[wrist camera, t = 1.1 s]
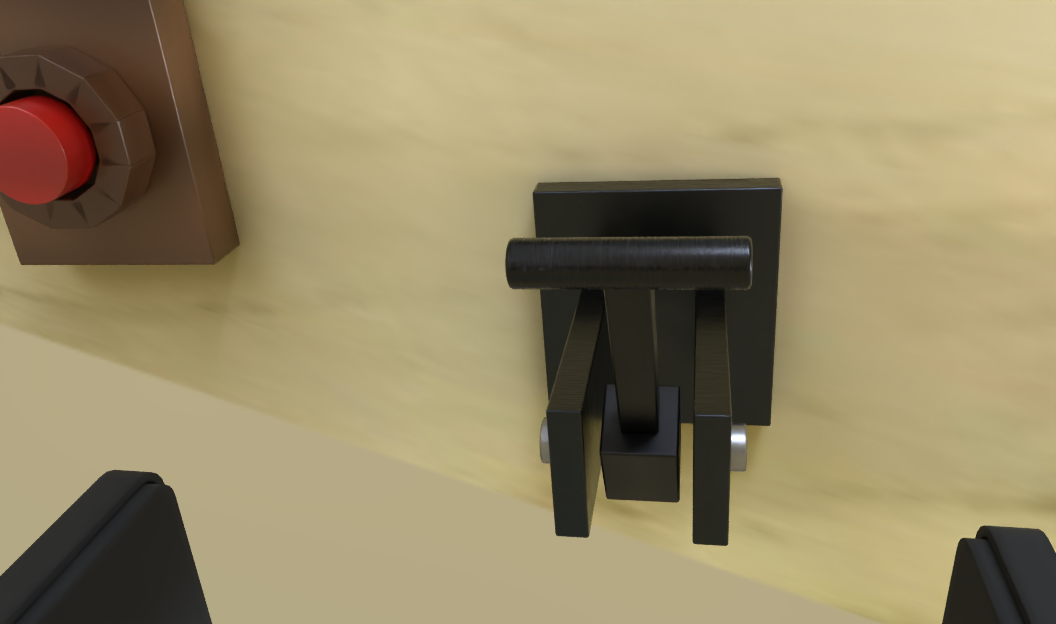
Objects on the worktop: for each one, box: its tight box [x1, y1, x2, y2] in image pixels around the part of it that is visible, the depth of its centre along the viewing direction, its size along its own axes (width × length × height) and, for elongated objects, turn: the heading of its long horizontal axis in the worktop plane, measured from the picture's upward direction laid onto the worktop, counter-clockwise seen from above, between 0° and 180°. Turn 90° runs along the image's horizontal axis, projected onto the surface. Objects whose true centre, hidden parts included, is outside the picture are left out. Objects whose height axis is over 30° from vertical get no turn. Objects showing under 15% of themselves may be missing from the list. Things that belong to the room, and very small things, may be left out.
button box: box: [0, 0, 239, 265], centre depth 34 cm, size 11×9×4 cm
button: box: [0, 95, 96, 205], centre depth 32 cm, size 4×4×2 cm
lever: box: [505, 236, 753, 502], centre depth 23 cm, size 10×6×2 cm, turn 5°
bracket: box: [533, 178, 783, 546], centre depth 30 cm, size 10×9×12 cm
